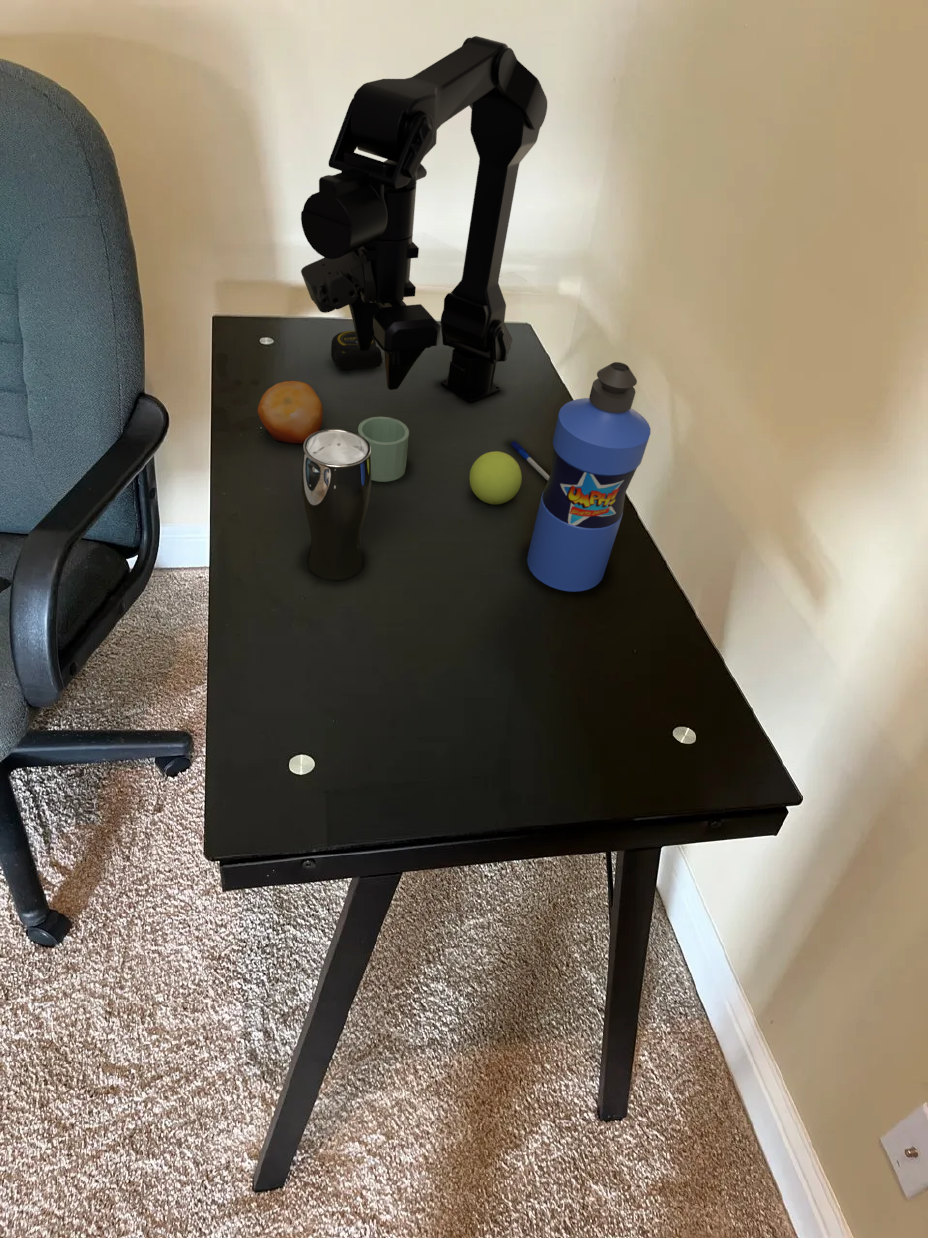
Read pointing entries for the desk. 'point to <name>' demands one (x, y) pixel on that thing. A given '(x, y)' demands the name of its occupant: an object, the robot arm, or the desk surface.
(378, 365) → the tape measure
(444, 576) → the desk surface
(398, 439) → the cup
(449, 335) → the robot arm
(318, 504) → the metal tumbler
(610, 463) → the blue squeeze bottle
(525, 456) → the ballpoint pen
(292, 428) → the fruit
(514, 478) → the ball
